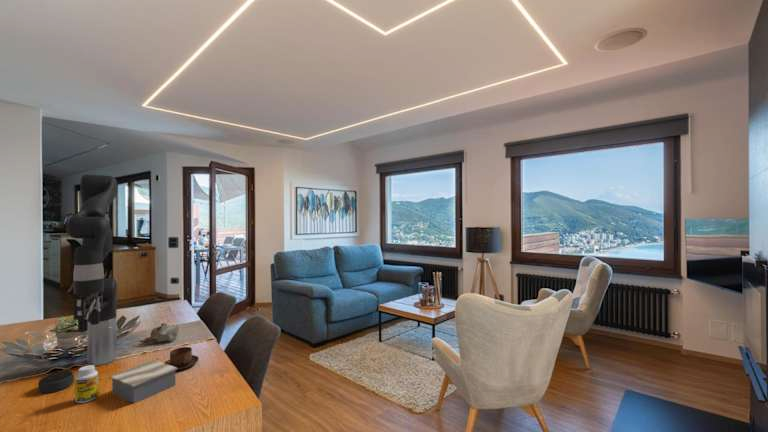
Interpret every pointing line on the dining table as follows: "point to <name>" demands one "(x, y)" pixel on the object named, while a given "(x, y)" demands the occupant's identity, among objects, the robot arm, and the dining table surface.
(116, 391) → the plinth
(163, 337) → the ceramic sculpture
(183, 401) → the dining table surface
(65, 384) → the smart speaker
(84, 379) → the supplement bottle
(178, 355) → the cup and saucer
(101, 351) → the robot arm
